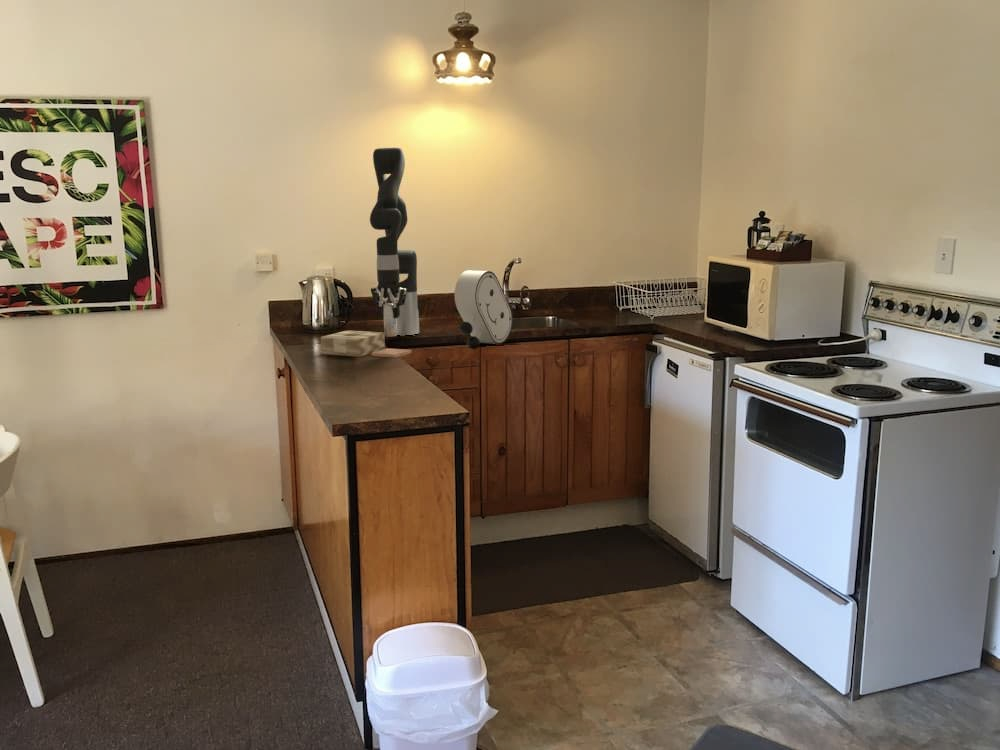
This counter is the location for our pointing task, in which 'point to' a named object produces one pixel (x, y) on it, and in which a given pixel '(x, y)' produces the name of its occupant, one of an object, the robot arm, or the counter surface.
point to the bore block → (352, 343)
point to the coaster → (391, 353)
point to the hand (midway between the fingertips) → (390, 317)
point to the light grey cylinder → (389, 320)
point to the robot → (482, 308)
